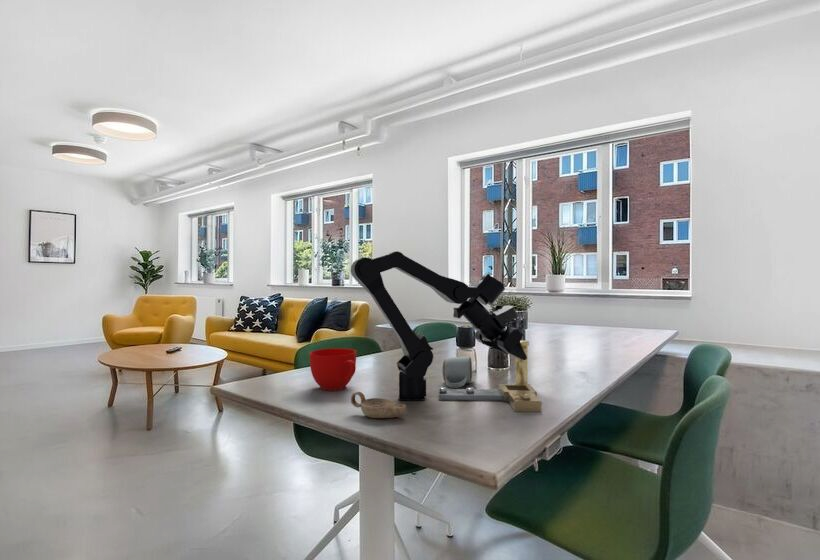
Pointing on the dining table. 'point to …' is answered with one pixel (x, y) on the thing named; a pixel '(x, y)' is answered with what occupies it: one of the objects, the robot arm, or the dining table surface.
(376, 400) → the oil lamp
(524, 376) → the pin
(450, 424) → the dining table surface
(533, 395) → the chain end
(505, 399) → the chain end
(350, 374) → the ceramic cup
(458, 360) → the ceramic mug
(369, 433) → the dining table surface
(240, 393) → the dining table surface
